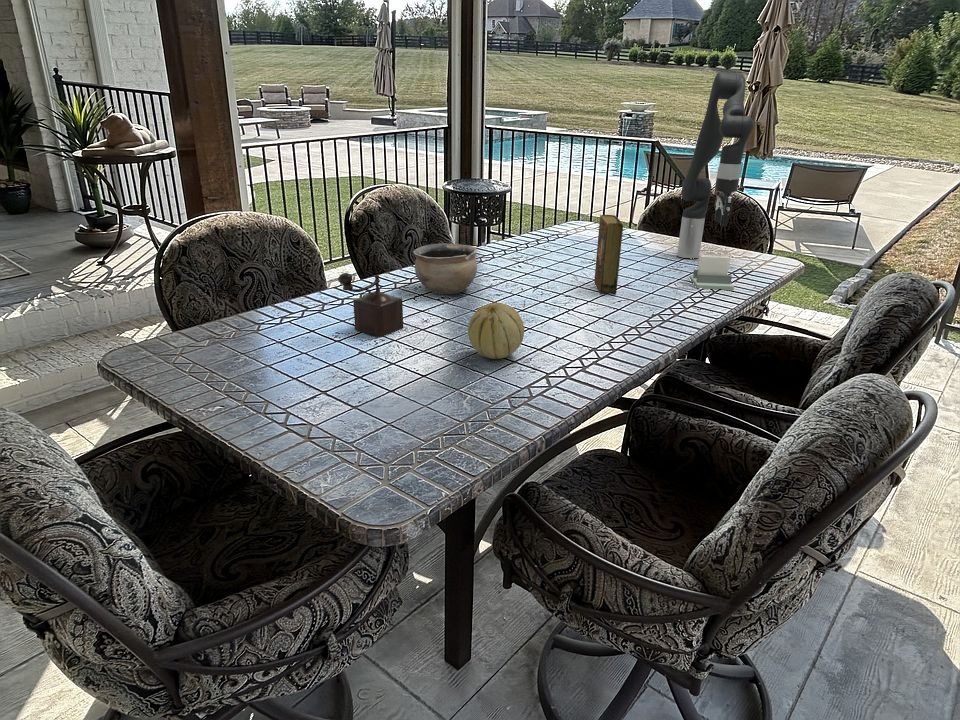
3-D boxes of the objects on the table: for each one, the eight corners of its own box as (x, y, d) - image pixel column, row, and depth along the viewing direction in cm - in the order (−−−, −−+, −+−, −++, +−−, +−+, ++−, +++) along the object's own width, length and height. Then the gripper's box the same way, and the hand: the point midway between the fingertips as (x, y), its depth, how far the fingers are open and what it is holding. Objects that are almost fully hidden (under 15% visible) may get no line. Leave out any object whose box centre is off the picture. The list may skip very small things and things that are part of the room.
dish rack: (689, 278, 244) (690, 267, 243) (723, 280, 243) (725, 268, 241) (696, 288, 231) (698, 276, 230) (733, 290, 230) (735, 278, 229)
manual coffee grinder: (377, 320, 194) (374, 262, 187) (404, 328, 188) (402, 268, 181) (339, 334, 183) (334, 273, 176) (366, 343, 177) (362, 280, 170)
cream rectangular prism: (696, 278, 239) (700, 255, 235) (724, 279, 238) (728, 256, 234) (698, 280, 236) (701, 257, 232) (726, 282, 235) (730, 258, 232)
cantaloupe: (520, 346, 176) (522, 294, 171) (525, 367, 163) (528, 311, 157) (467, 346, 176) (467, 293, 170) (467, 367, 162) (468, 311, 157)
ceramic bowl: (469, 303, 212) (469, 258, 206) (406, 298, 216) (404, 254, 210) (482, 285, 232) (482, 244, 226) (424, 280, 236) (423, 240, 230)
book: (593, 282, 237) (599, 214, 228) (608, 282, 237) (614, 214, 228) (600, 295, 222) (607, 223, 213) (616, 295, 222) (623, 223, 212)
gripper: (712, 174, 229) (705, 219, 235) (721, 179, 216) (714, 227, 222) (733, 174, 228) (726, 220, 235) (744, 180, 215) (736, 228, 222)
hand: (720, 223), depth 229 cm, fingers open, 8 cm apart
